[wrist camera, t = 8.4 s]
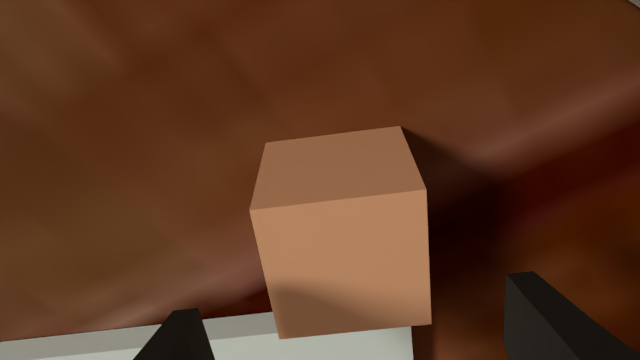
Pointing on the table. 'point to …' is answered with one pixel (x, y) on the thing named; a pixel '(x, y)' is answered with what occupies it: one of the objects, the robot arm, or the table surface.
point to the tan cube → (343, 233)
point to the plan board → (221, 343)
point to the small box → (636, 2)
